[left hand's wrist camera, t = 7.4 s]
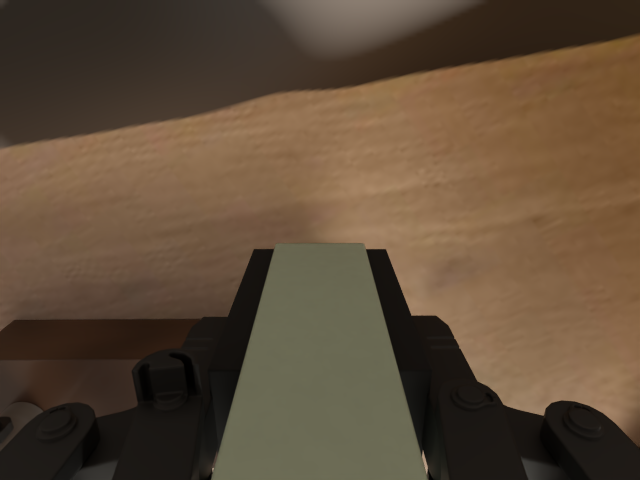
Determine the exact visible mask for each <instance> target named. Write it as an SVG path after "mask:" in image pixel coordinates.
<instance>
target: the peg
mask: <svg viewBox="0 0 640 480" xmlns="http://www.w3.org/2000/svg"><path fill="white" fill-rule="evenodd" d="M211 480H428V478H427V474H426V470H425V467H424V463H423V459H422V456H421V452H420V448H419V445H418V441H417V437H416V433H415V430H414V426H413V422H412V419H411V415H410V411H409V407H408V404H407V400H406V396H405V393H404V389H403V385H402V382H401V378H400V374H399V370H398V367H397V363H396V359H395V356H394V352H393V348H392V345H391V341H390V337H389V333H388V330H387V326H386V322H385V319H384V315H383V311H382V307H381V304H380V300H379V296H378V293H377V289H376V285H375V282H374V278H373V274H372V270H371V267H370V263H369V259H368V256H367V252H366V248H365V245H364V244H363V243H277V244H276V245H275V248H274V252H273V255H272V259H271V263H270V266H269V270H268V274H267V277H266V281H265V285H264V288H263V292H262V296H261V299H260V303H259V306H258V310H257V314H256V317H255V321H254V325H253V328H252V332H251V336H250V339H249V343H248V347H247V350H246V354H245V358H244V361H243V365H242V369H241V372H240V376H239V379H238V383H237V387H236V390H235V394H234V398H233V401H232V405H231V409H230V412H229V416H228V420H227V423H226V427H225V431H224V434H223V438H222V442H221V445H220V449H219V452H218V456H217V460H216V463H215V467H214V471H213V474H212V478H211Z"/></svg>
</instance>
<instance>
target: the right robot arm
mask: <svg viewBox="0 0 640 480" xmlns="http://www.w3.org/2000/svg"><path fill="white" fill-rule="evenodd" d="M13 429H14V426H13V423H12V420H11V418H10V417H0V444H1V443H2V442H3V441H4V439H5V438H6V437H7V436H8V435H9V434H10V433H11V431H12V430H13Z"/></svg>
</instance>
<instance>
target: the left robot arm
mask: <svg viewBox="0 0 640 480" xmlns="http://www.w3.org/2000/svg"><path fill="white" fill-rule="evenodd" d="M273 252H274V249H254V251H253V253H252V256H251V258H250V261H249V264H248V266H247V269H246V271H245V274H244V276H243V279H242V282H241V284H240V287H239V289H238V292H237V295H236V297H235V300H234V302H233V305H232V307H231V310H230V313H229V315H228V317H203V318H202V319H201V320H199V321H198V322H197V323H196V324H195V325H193V326H192V327H191V329H190V331H189V333H188V335H187V337H186V341H184V343H183V345H182V346H181V349H180V348H170V349H165V350H160V351H157V352H154V353H152V354H150V355H147V356H146V357H144V358H143V359H142V360H140V361H139V362H138V363H137V364H136V365H135V366H134V368H133V369H132V371H131V372H132V377H133V382H134V387H135V392H136V397H137V402H138V404H137V406H136V407H134V408H132V409H128V410H125V411H122V412H118V413H114V414H109V415H105V416H101V417H97V418H96V415H95V411H94V410H93V409H92V408H91V407H90V406H89V405H88V404H84V403H80V402H75V403H65V404H62V405H58V406H55V407H52V408H50V409H48V410H46V411H44V412H42V413H40V414H38V415H37V416H36V417H34V418H33V419H32V420H31V421H29V422H28V423H27V424H26V425H25V426H24V427H23V428H22V429H21V430H20V431H19V432H18V433H17V434H16V435H15V436H14V437H13V438H12V439H11V441H10V442H9V443H8V444H7V445H6V446H5V447H4V448H3V449H2V450H1V451H0V480H211V478H212V474H213V472H212V467H213V463H214V459H215V456H216V452H217V454H218V452H219V449H220V445H221V442H222V438H223V434H224V431H225V427H226V423H227V420H228V416H229V412H230V409H231V405H232V401H233V398H234V394H235V390H236V387H237V383H238V379H239V376H240V372H241V369H242V365H243V361H244V358H245V354H246V350H247V347H248V343H249V339H250V336H251V332H252V328H253V325H254V321H255V317H256V314H257V310H258V306H259V303H260V299H261V296H262V292H263V288H264V285H265V281H266V277H267V274H268V270H269V266H270V263H271V259H272V255H273ZM366 252H367V256H368V259H369V263H370V267H371V270H372V274H373V278H374V282H375V285H376V289H377V293H378V296H379V300H380V304H381V307H382V311H383V315H384V319H385V322H386V326H387V330H388V333H389V337H390V341H391V345H392V348H393V352H394V356H395V359H396V363H397V367H398V370H399V374H400V378H401V382H402V385H403V389H404V393H405V396H406V400H407V404H408V407H409V411H410V415H411V419H412V422H413V426H414V430H415V433H416V437H417V441H418V445H419V448H420V452H421V456H422V452H423V451H424V455H425V458H426V462H427V465H428V472H427V478H428V480H640V449H639V448H638V447H637V446H636V445H635V444H634V443H633V442H632V440H631V439H630V438H629V437H628V436H627V435H626V434H625V433H624V432H623V431H622V430H621V429H620V428H619V427H618V426H617V425H616V424H615V423H614V422H613V421H612V420H610V419H609V418H608V417H607V416H606V415H604V414H603V413H601V412H599V411H598V410H596V409H594V408H592V407H590V406H587V405H584V404H581V403H578V402H574V401H558V402H554V403H551V404H550V405H549V406H548V407H547V408H546V410H545V414H544V416H542V415H537V414H533V413H529V412H525V411H520V410H517V409H513V408H510V407H507V406H505V405H503V403H502V402H501V400H500V398H499V397H498V395H497V394H496V393H495V392H494V391H493V390H491V389H490V388H489V387H488V386H486V385H484V384H482V383H479V382H477V380H476V378H475V376H474V374H473V372H472V370H471V368H470V366H469V364H468V363H467V361H466V359H465V357H464V355H463V353H462V351H461V349H459V345H458V343H457V341H456V339H454V336H453V334H452V332H451V330H450V328H449V326H448V325H447V324H446V323H444V322H443V321H442V320H441V319H440V318H438V317H437V316H411V313H410V311H409V308H408V306H407V303H406V300H405V298H404V295H403V293H402V290H401V287H400V285H399V282H398V280H397V277H396V275H395V272H394V269H393V267H392V264H391V262H390V259H389V256H388V254H387V251H386V249H366Z"/></svg>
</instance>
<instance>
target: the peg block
mask: <svg viewBox="0 0 640 480" xmlns="http://www.w3.org/2000/svg"><path fill="white" fill-rule="evenodd" d="M199 320H201V319H180V320H14V321H13V322H12V323H10V324H9V325H8V326H6V327H5V328H4V329H3V330H1V331H0V417H10V418H11V420H12V423H13V426H14V429H13V430H12V431H11V433H10V434H9V435H8V436H7V437H6V438H5V439H4V441H3V442H2V443H1V444H0V451H1V450H2V449H3V448H4V447H5V446H6V445H7V444H8V443H9V442H10V441H11V439H12V438H13V437H14V436H15V435H16V434H17V433H18V432H19V431H20V430H21V429H22V428H23V427H24V426H25V425H26V424H27V423H28V422H29V421H31V420H32V419H33V418H34V417H36V416H37V415H38V414H40V413H42V412H44V411H46V410H48V409H50V408H52V407H55V406H58V405H62V404H65V403H75V402H80V403H84V404H88V405H89V406H90V407H91V408H92V409H93V410H94V411H95V415H96V418H97V417H101V416H105V415H109V414H114V413H118V412H122V411H125V410H128V409H132V408H134V407H136V406H137V404H138V402H137V397H136V392H135V387H134V382H133V377H132V372H131V371H132V369H133V368H134V366H135V365H136V364H137V363H138V362H139V361H140V360H142V359H143V358H144V357H146V356H147V355H150V354H152V353H154V352H157V351H160V350H165V349H170V348H180V349H181V346H182V345H183V343H184V341H186V337H187V335H188V333H189V331H190V329H191V327H192V326H193V325H195V324H196V323H197V322H198V321H199ZM217 456H218V454H217V452H216V456H215V459H214V463H213V467H212V468H214V467H215V463H216V460H217Z"/></svg>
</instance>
